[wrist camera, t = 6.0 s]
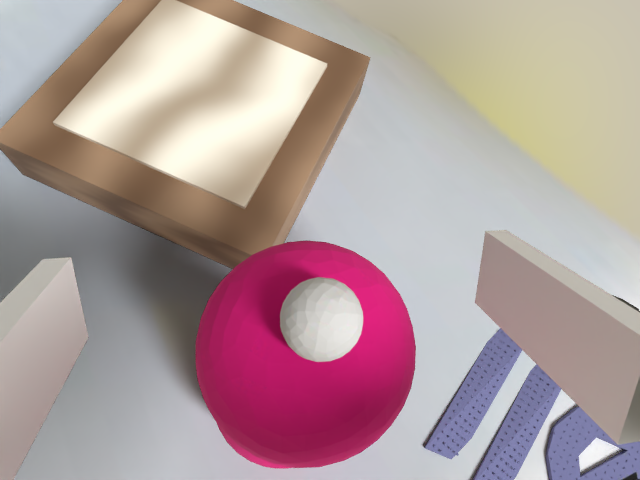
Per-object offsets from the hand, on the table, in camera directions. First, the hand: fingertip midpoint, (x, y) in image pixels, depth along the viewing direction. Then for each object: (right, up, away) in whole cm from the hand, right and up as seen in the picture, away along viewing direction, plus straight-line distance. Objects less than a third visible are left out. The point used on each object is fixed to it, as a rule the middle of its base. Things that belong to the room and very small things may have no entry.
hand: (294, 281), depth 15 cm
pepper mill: (-2, -8, +13) cm, 15 cm away
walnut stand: (-8, +10, +19) cm, 23 cm away
